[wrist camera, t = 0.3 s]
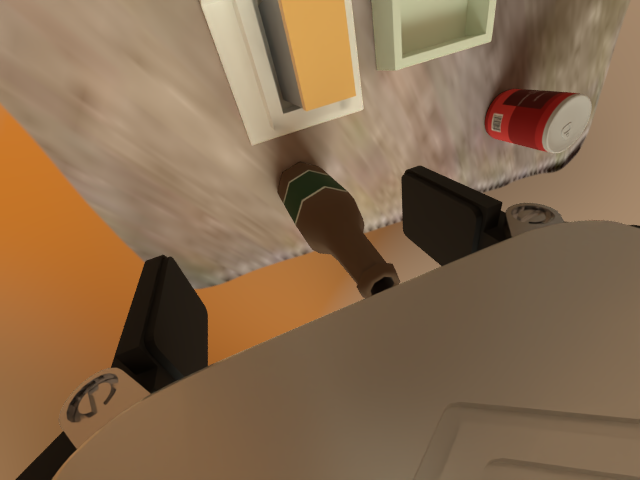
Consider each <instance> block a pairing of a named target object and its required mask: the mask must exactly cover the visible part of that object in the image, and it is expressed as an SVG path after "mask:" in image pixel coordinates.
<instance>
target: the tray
mask: <svg viewBox="0 0 640 480" xmlns="http://www.w3.org/2000/svg"><path fill="white" fill-rule="evenodd" d="M371 4H372V17H373V30H374V42H375V55H376V68H377V70H390V71H396V70H399V69H402V68H405V67H409V66H412V65H415V64H419V63H422V62H425V61H428V60H432V59H435V58H438V57H442V56H445V55H448V54H451V53H455V52H458V51H461V50H465V49H468V48H471V47H474V46H478V45H481V44H484V43H487V42H491V39H492V31H493V24H494V16H495V8H496V0H371Z"/></svg>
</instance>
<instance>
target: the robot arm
mask: <svg viewBox="0 0 640 480" xmlns="http://www.w3.org/2000/svg"><path fill="white" fill-rule="evenodd" d="M501 206H502V202H501V201H498V200H496V199H494V198H492V197H489V196H487V195H485V194H483V193H481V192H478V191H476V190H474V189H472V188H469V187H467V186H465V185H463V184H460V183H458V182H456V181H454V180H452V179H449V178H447V177H445V176H443V175H440V174H438V173H436V172H434V171H431V170H429V169H427V168H425V167H423V166H417V167H414V168H411V169H408V170H406V171H405V173H404V175H403V176H402V212H403V231H404V234H405V235H406V236H407V237H408V238H409V239H410V240H411V241H413V242H414V243H415V244H416V245H417V246H418V247H420V248H421V249H422V250H423V251H425V252H426V253H427V254H428V255H429V256H430V257H432V258H433V259H434V260H435V261H436V262H438V263H439V264H440V265H441V267H439V268H436V269H434V270H432V271H430V272H427V273H425V274H422V275H420V276H418V277H415V278H413V279H410V280H408V281H406V282H403V283H401V284H398V285H396V286H394V287H391V288H389V289H387V290H384V291H382V292H380V293H377V294H375V295H372V296H370V297H368V298H365V299H363V300H361V301H358V302H356V303H354V304H351V305H349V306H347V307H344V308H342V309H340V310H337V311H335V312H333V313H330V314H328V315H325V316H323V317H321V318H318V319H316V320H314V321H311V322H309V323H307V324H305V325H302V326H300V327H298V328H295V329H293V330H291V331H289V332H286V333H284V334H281V335H279V336H277V337H275V338H272V339H270V340H268V341H265V342H263V343H260V344H258V345H256V346H253V347H251V348H249V349H246V350H244V351H242V352H240V353H237V354H235V355H233V356H230V357H228V358H226V359H223V360H221V361H219V362H216V363H214V364H212V365H210V366H208V314H207V310H206V307H205V305H204V304H203V302H202V301H201V299H200V298H199V296H198V295H197V293H196V292H195V290H194V289H193V287H192V286H191V284H190V283H189V281H188V280H187V278H186V277H185V275H184V274H183V272H182V271H181V269H180V268H179V266H178V265H177V263H176V262H175V260H174V259H173V258H172V257H168V258H167V257H166V256H165V255H161V256H158V257H156V258H153V259H150V260H147V261H146V262H145V264H144V267H143V270H142V273H141V276H140V279H139V283H138V286H137V289H136V292H135V295H134V298H133V301H132V304H131V307H130V310H129V313H128V317H127V319H126V322H125V325H124V329H123V332H122V335H121V338H120V341H119V344H118V347H117V350H116V353H115V357H114V360H113V363H112V366H111V368H108V369H105V370H102V371H100V372H98V373H96V374H94V375H92V376H91V377H89V378H88V379H87V380H85V381H84V382H83V383H82V384H81V385H79V386H78V387H77V389H76V390H74V392H73V393H72V394H71V395H70V396H69V398H68V399H67V400H66V402H65V404H64V406H63V408H62V410H61V412H60V416H59V423H60V427H61V428H62V429H63V432H62V433H61V434H60V435H59V436H58V437H57V438H56V439H55V440H54V441H53V442H52V443H51V444H50V445H49V446H48V447H47V448H46V449H45V450H44V451H43V452H42V453H41V454H40V455H39V456H38V457H37V458H36V459H35V460H34V461H33V462H32V463H31V464H30V465H29V466H28V467H27V469H25V470H24V472H23V473H22V474H20V476H19V477H18V478H17V479H16V480H640V226H637V225H626V224H622V223H618V222H612V221H604V220H601V221H600V220H589V221H575V222H564V221H563V219H562V217H561V215H560V214H559V213H558V211H556V210H555V209H553V208H551V207H548V206H545V205H541V204H535V203H520V204H516V205H513V206H511V207H509V208H508V209H507V210H506V213H505V212H503V211H501Z"/></svg>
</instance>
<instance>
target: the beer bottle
mask: <svg viewBox="0 0 640 480" xmlns="http://www.w3.org/2000/svg"><path fill="white" fill-rule="evenodd" d="M278 194H279V196H280V198H281V200H282V202H283V203H284V205H285V207H286V209H287V211H288V212H289V214H290V216H291V218H292V219H293V221H294V223H295V225H296V226H297V228H298V229H299V231H300V232H301V234H302V235H303V237H304V238H305V240H306V241H307V243H308V244H309V246H310V247H311V248H312V250H314V251H316V252H318V253H323V254H331V255H332V256H334V257H335V258H336V259H337V260H338V261H339V262H340V264H341V265H342V266H343V267H344V268H345V270H346V271H347V272H348V273H349V274H350V276H351V277H352V278H353V279H354V281H355V282H356V283H357V284H358V285H357V288H358V290H359V292H360V293H361V295H362V296H363V297H364V298H368V297H370V296H372V295H375V294H377V293H380V292H382V291H384V290H387V289H389V288H391V287H394V286H396V285H398V284H399V283H400V280H399V278H398V276H397V273H396V270H395V268H394V266H393V264H389V263H386V262H385V261H384V259H383V258H382V256H381V255H380V254H379V253H378V252H377V250H376V249H375V248H374V246H373V245H372V244H371V242H370V241H369V240H368V239H367V237H366V236H365V235H364V234H363V230H364V222H363V218H362V216H361V213H360V211H359V209H358V207H357V204H356V202H355V200H354V198H353V197H352V196H351V195H350V194H349V192H347V191H346V190H345V189H344V188H343V187H342V186H341V185H340V184H338V183H337V182H336V181H335V180H334V179H333V178H332V177H331V176H329V175H328V174H327V173H326V172H325V171H324V170H323V169H321V168H320V167H318V166H314V165H310V164H306V163H302V162H299V163H297V164H295V165H294V166H292V167H291V168H289V169H287V170H286V171H284V172H283V173H282V176H281V180H280V184H279V188H278Z"/></svg>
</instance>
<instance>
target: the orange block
mask: <svg viewBox="0 0 640 480" xmlns="http://www.w3.org/2000/svg"><path fill="white" fill-rule="evenodd" d="M258 7H259V11H260V15H261V19H262V22H263V26H264V30H265V34H266V37H267V41H268V45H269V49H270V52H271V56H272V60H273V64H274V67H275V71H276V75H277V78H278V82H279V86H280V90H281V93H282V97H283V100H285V101H287V102H290V103H292V104H294V105H297V106H299V107H301V108H303V110H304V111H309V110H313V109H316V108H319V107H322V106H325V105H329V104H332V103H335V102H338V101H341V100H345V99H348V98H351V97H354V96H356V91H355V83H354V74H353V66H352V58H351V50H350V42H349V34H348V26H347V18H346V10H345V2H344V0H263V1H262V2H261V3H260V4H259V5H258Z"/></svg>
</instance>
